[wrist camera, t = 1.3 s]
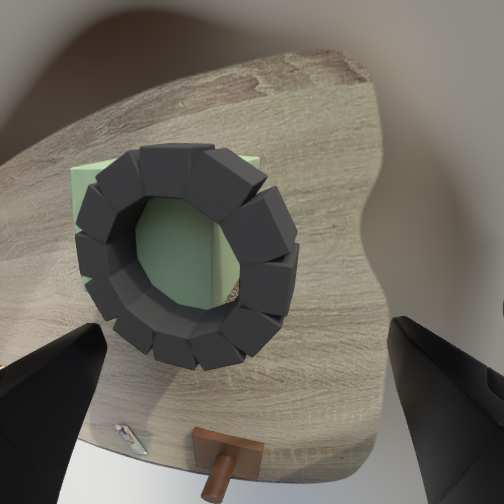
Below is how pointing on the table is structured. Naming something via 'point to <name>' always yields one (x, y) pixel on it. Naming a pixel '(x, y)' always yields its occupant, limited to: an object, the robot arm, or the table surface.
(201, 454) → the stand
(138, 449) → the granola bar
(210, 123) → the table surface
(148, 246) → the riser box
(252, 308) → the chunky treaded tire
